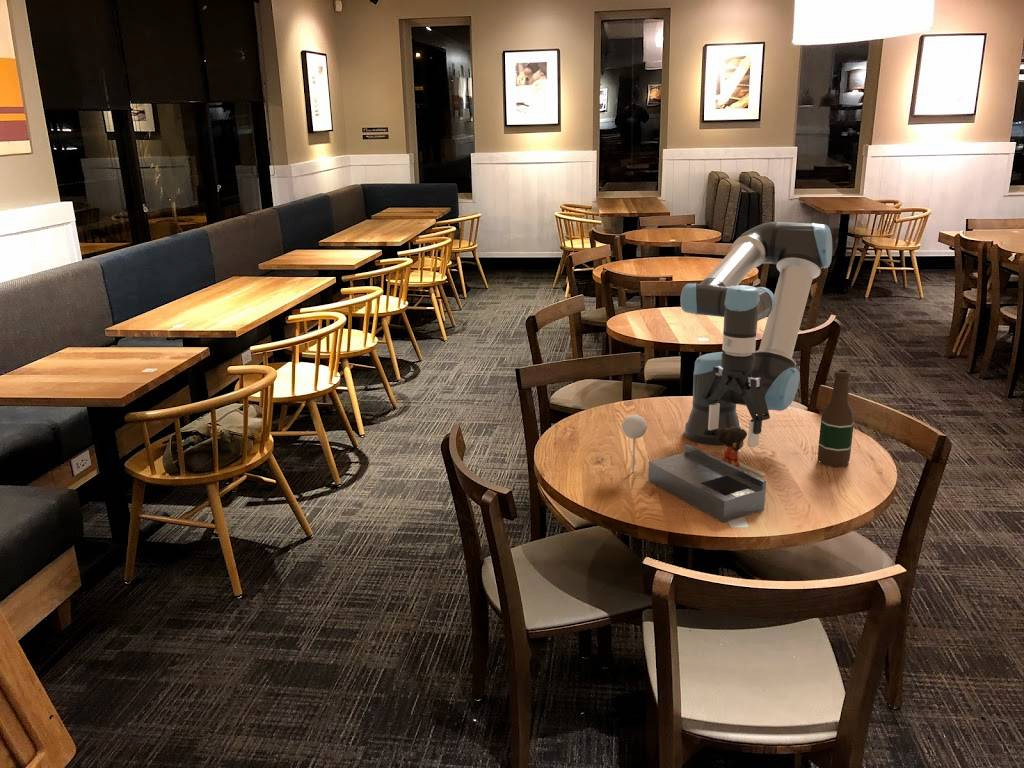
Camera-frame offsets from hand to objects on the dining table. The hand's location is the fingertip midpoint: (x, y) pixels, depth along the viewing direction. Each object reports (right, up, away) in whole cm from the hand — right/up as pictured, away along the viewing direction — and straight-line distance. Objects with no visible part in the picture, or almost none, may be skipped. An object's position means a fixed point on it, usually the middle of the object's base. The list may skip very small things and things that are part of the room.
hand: (732, 437), depth 198 cm
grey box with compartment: (-9, -13, -8) cm, 18 cm away
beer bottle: (+28, -7, +9) cm, 30 cm away
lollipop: (-23, -9, +5) cm, 26 cm away
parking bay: (0, -9, +3) cm, 10 cm away
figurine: (0, -9, +3) cm, 10 cm away
